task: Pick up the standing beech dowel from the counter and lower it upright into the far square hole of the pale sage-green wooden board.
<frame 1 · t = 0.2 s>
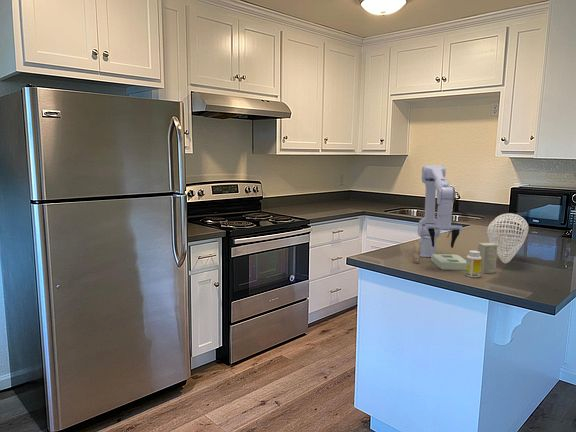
hand: (442, 246, 183), 10 cm above the counter, fingers open, 7 cm apart
dowel: (416, 262, 196), on the counter
supplement bottle: (472, 276, 175), on the counter
heart: (505, 263, 196), on the counter
board: (449, 265, 192), on the counter
skincare box: (485, 272, 181), on the counter
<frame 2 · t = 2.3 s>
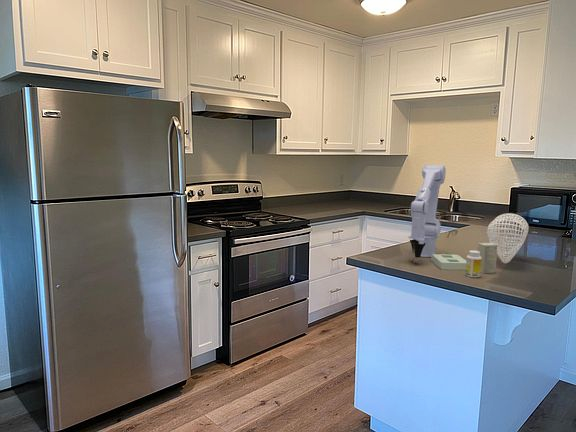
hand: (416, 256, 195), 3 cm above the counter, fingers closed on dowel, 3 cm apart
dowel: (416, 262, 196), on the counter, touching gripper
everything else where it was.
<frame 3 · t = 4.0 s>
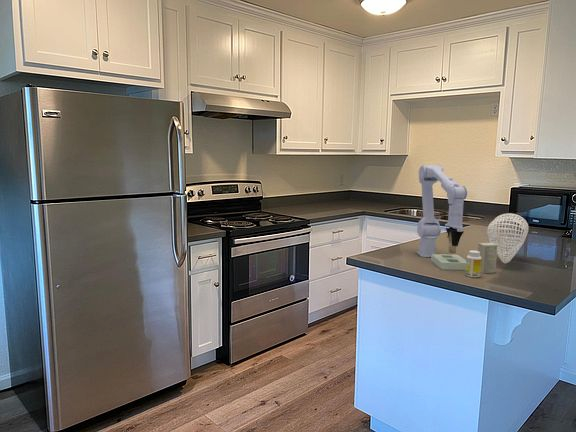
hand: (453, 245, 187), 10 cm above the counter, fingers closed on dowel, 3 cm apart
dowel: (452, 252, 187), point 7 cm above the counter, touching gripper
everything else where it was.
when the fingers open (4 cm above the counter, at t = 5.9 s): dowel stays where it is, resting in board.
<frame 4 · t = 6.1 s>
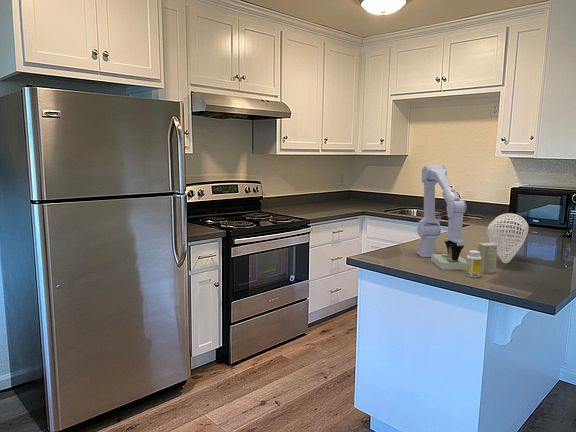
hand: (453, 258, 187), 4 cm above the counter, fingers open, 5 cm apart
dowel: (451, 267, 188), resting in board
everything else where it was.
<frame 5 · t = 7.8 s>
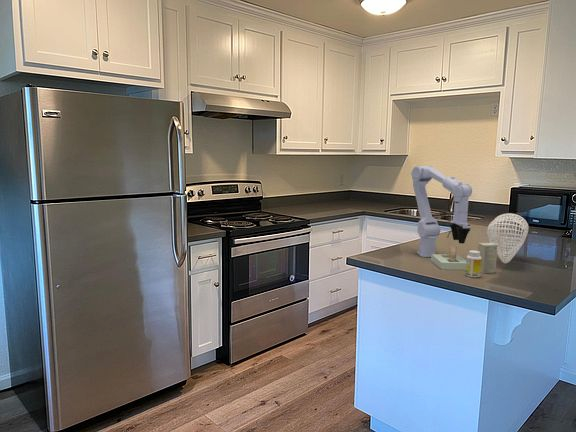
hand: (458, 241, 192), 10 cm above the counter, fingers open, 7 cm apart
nothing on the counter moved.
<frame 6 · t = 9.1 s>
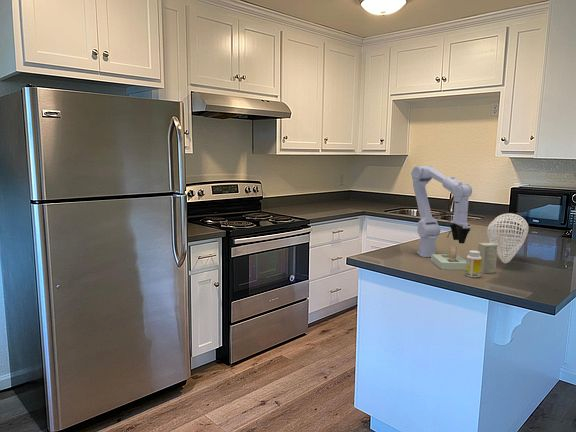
hand: (458, 241, 192), 10 cm above the counter, fingers open, 7 cm apart
nothing on the counter moved.
at the end: dowel 0.3 cm from the target spot on the board, point 0.0 cm above the board's base; dowel tilted 0°; the gripper is holding nothing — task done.
